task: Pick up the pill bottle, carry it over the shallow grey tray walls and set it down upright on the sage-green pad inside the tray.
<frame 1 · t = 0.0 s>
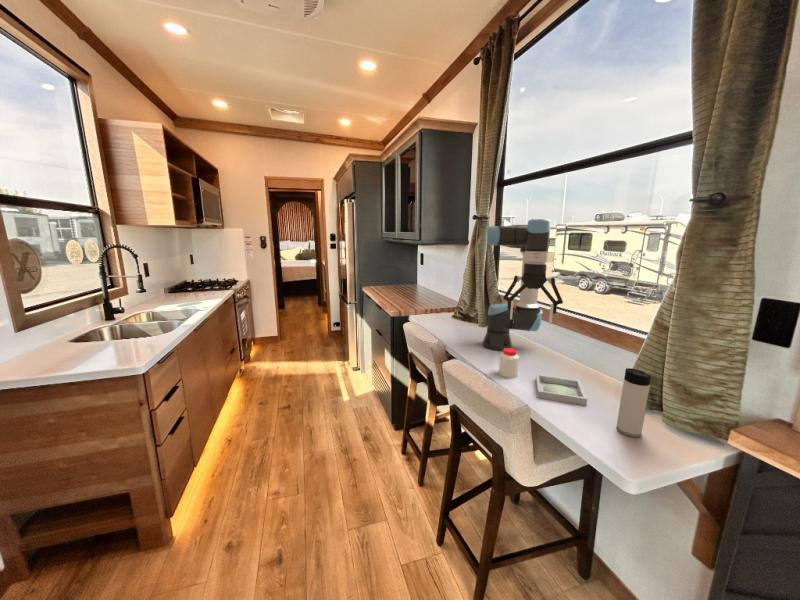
hand: (530, 320, 118), 28 cm above the countertop, fingers open, 13 cm apart
travel mug: (627, 432, 97), on the countertop
pill bottle: (508, 374, 138), on the countertop
shallow grey tray: (558, 391, 122), on the countertop
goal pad: (558, 391, 122), resting in shallow grey tray
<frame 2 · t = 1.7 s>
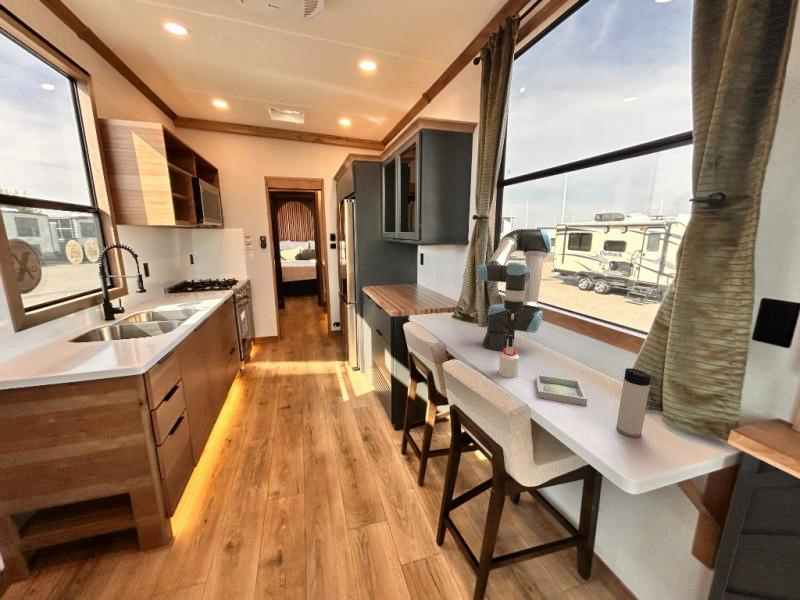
hand: (509, 348, 136), 12 cm above the countertop, fingers open, 13 cm apart
nothing on the countertop moved.
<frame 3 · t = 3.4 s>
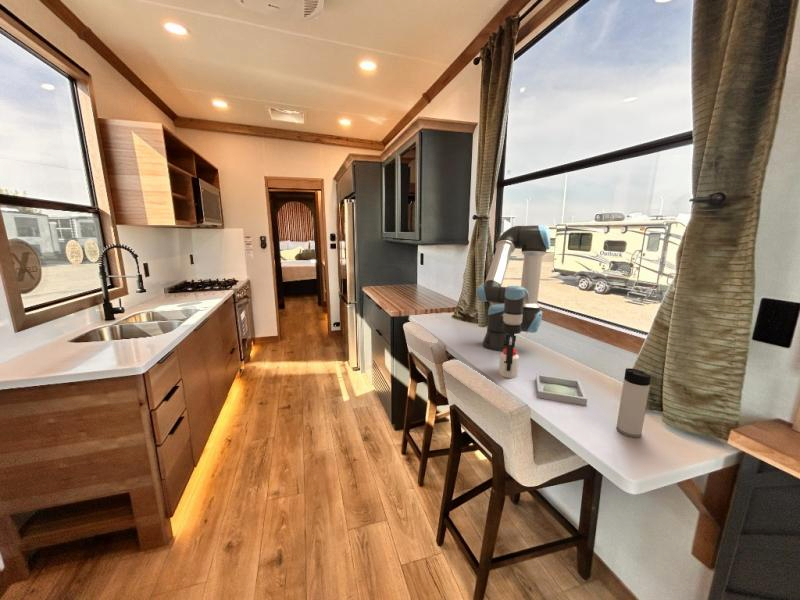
hand: (508, 373, 138), 0 cm above the countertop, fingers closed on pill bottle, 8 cm apart
pill bottle: (508, 374, 138), on the countertop, touching gripper
everything else where it was.
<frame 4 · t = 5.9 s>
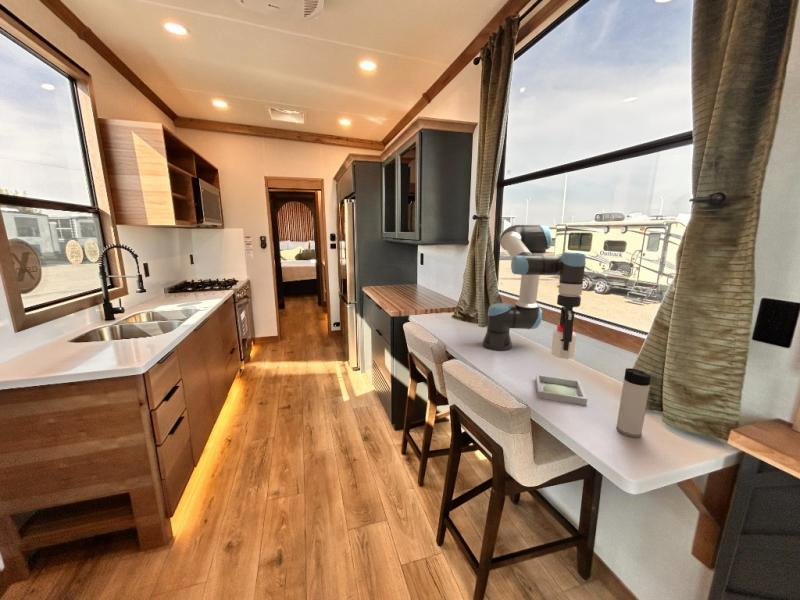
hand: (562, 354, 120), 15 cm above the countertop, fingers closed on pill bottle, 8 cm apart
pill bottle: (562, 355, 120), point 15 cm above the countertop, touching gripper
everything else where it was.
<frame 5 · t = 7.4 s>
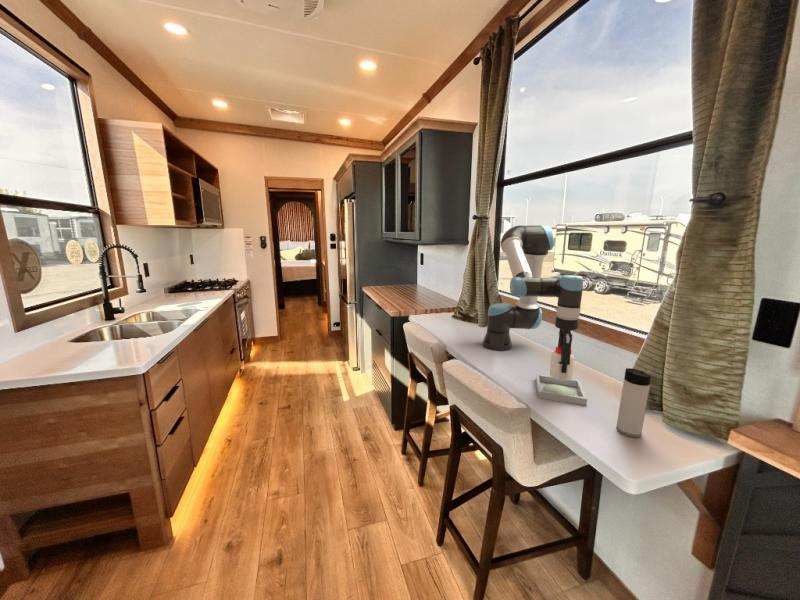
hand: (560, 375, 121), 7 cm above the countertop, fingers closed on pill bottle, 8 cm apart
pill bottle: (560, 376, 121), point 6 cm above the countertop, touching gripper
everything else where it was.
when the fingers open (3 cm above the countertop, at t = 8.6 s): pill bottle drops 2 cm, resting on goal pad.
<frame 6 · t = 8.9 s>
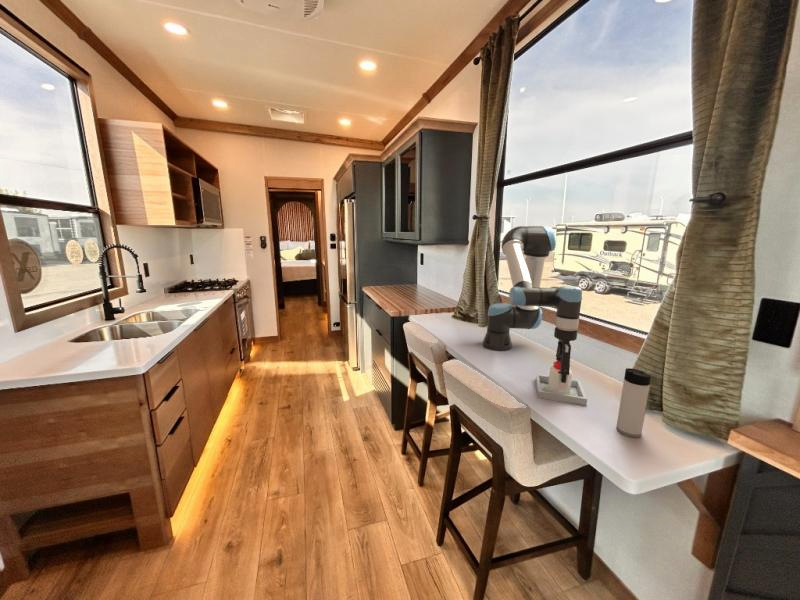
hand: (559, 383, 122), 4 cm above the countertop, fingers open, 11 cm apart
pill bottle: (558, 391, 122), resting on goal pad
everything else where it was.
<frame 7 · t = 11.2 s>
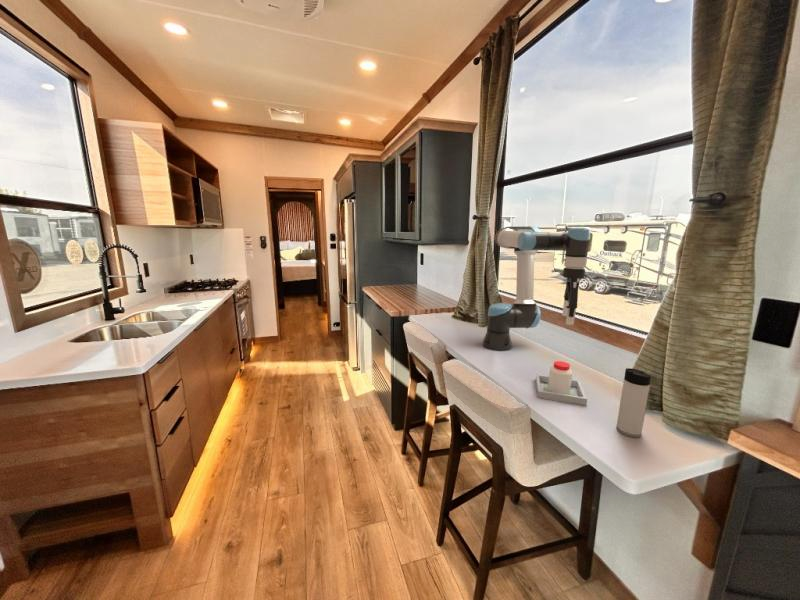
hand: (567, 320, 128), 26 cm above the countertop, fingers open, 13 cm apart
nothing on the countertop moved.
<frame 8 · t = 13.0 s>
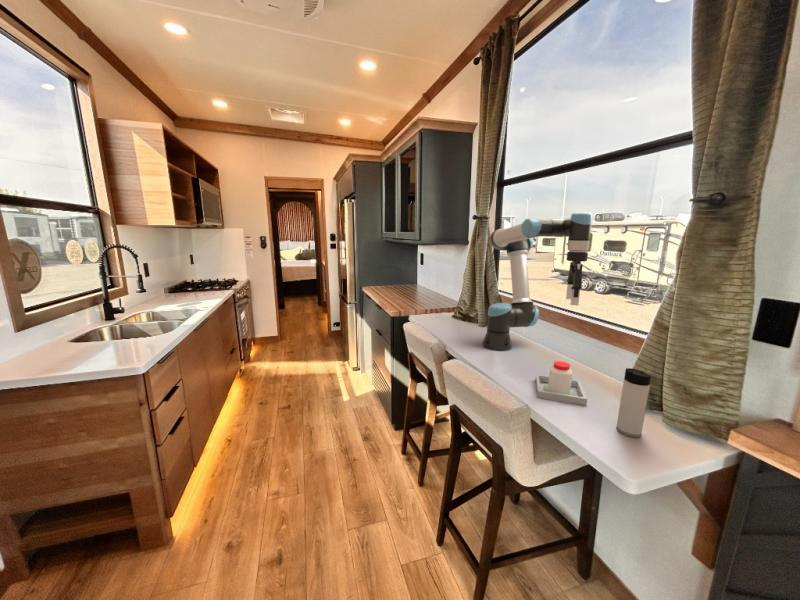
hand: (571, 302, 134), 32 cm above the countertop, fingers open, 13 cm apart
nothing on the countertop moved.
at the end: pill bottle inside the target area (0.1 cm from its centre), resting on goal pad; pill bottle tilted 0°; the gripper is holding nothing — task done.
